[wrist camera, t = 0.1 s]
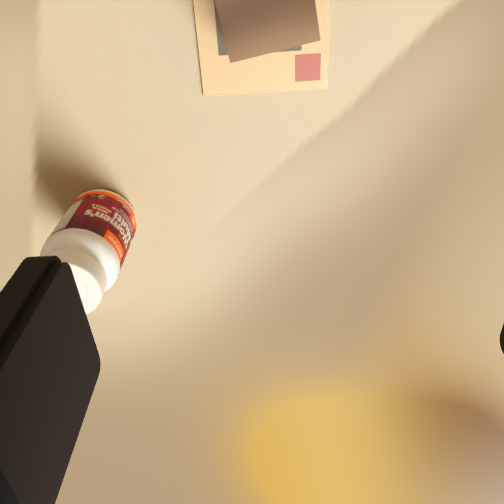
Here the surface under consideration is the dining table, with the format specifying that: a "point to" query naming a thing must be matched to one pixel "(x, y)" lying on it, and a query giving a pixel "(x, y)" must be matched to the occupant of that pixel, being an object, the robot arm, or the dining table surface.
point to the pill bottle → (93, 241)
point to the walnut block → (266, 26)
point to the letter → (259, 59)
